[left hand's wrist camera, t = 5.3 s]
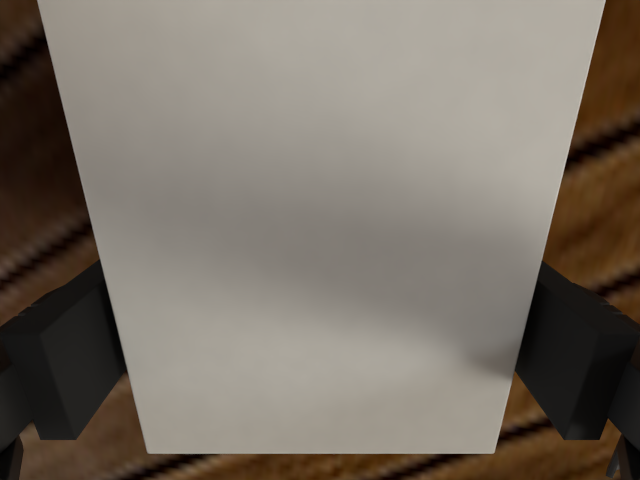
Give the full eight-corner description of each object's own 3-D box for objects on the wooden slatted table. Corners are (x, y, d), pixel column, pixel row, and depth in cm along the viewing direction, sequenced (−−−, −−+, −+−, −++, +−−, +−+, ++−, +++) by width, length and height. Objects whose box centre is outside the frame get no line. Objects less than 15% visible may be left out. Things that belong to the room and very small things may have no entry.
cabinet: (194, -166, 14) (-218, -1028, 3) (446, -166, 14) (859, -1023, 3) (235, 270, 21) (146, 454, 10) (404, 270, 21) (495, 454, 10)
